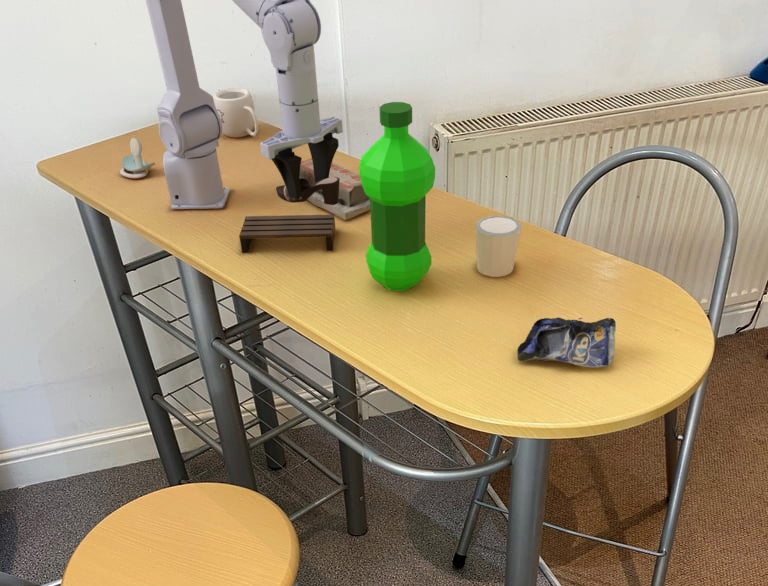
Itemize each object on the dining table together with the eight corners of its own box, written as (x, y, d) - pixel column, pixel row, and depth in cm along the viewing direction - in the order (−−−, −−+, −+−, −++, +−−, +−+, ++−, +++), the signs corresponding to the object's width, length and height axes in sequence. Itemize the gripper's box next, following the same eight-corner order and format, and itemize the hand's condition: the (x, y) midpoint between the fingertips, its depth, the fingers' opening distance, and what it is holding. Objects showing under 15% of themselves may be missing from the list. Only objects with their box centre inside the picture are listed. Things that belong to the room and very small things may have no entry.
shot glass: (521, 260, 121) (525, 217, 116) (512, 281, 116) (516, 237, 111) (479, 254, 122) (481, 212, 117) (468, 275, 118) (470, 232, 113)
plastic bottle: (423, 262, 121) (424, 90, 103) (438, 296, 114) (442, 117, 96) (361, 269, 120) (351, 97, 102) (372, 303, 113) (363, 125, 95)
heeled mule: (285, 189, 126) (281, 165, 123) (346, 196, 123) (344, 173, 120) (273, 201, 123) (269, 178, 120) (336, 210, 120) (333, 186, 117)
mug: (210, 134, 163) (202, 94, 158) (241, 123, 167) (235, 84, 162) (243, 148, 157) (237, 107, 151) (275, 136, 161) (270, 96, 155)
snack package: (563, 394, 96) (627, 359, 101) (563, 349, 92) (630, 314, 97) (500, 365, 105) (562, 333, 109) (497, 322, 101) (561, 291, 105)
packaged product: (283, 164, 138) (326, 149, 143) (286, 190, 142) (328, 175, 146) (343, 194, 128) (388, 177, 133) (345, 222, 132) (389, 205, 136)
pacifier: (137, 183, 147) (161, 172, 150) (127, 150, 142) (152, 139, 145) (114, 174, 150) (138, 163, 153) (103, 142, 145) (128, 131, 148)
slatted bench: (242, 252, 125) (239, 235, 123) (248, 233, 130) (245, 216, 128) (332, 251, 125) (331, 233, 123) (335, 231, 130) (334, 214, 128)
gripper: (276, 118, 106) (288, 214, 116) (353, 92, 113) (358, 184, 123) (246, 107, 110) (260, 200, 120) (322, 82, 117) (329, 172, 126)
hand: (308, 191), depth 121 cm, fingers closed on heeled mule, 5 cm apart
